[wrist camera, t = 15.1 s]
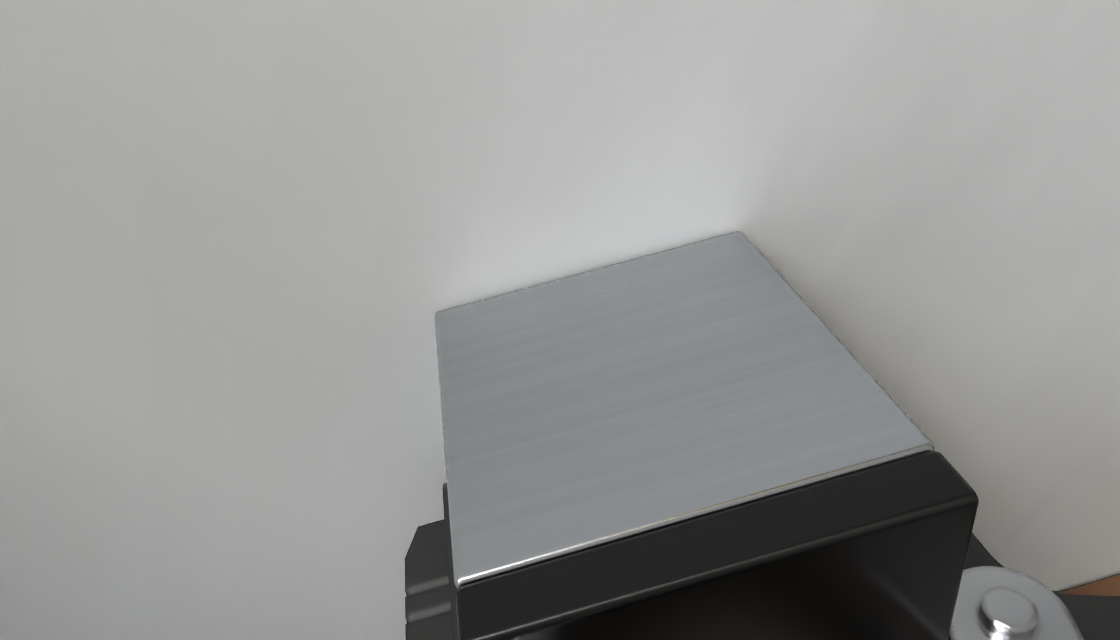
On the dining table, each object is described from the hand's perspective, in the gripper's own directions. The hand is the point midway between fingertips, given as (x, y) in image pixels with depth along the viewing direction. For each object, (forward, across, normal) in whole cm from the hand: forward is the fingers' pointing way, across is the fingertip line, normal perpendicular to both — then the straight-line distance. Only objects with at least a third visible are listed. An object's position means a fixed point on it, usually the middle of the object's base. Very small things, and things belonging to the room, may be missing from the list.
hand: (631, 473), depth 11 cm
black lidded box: (0, 0, 0) cm, 0 cm away
